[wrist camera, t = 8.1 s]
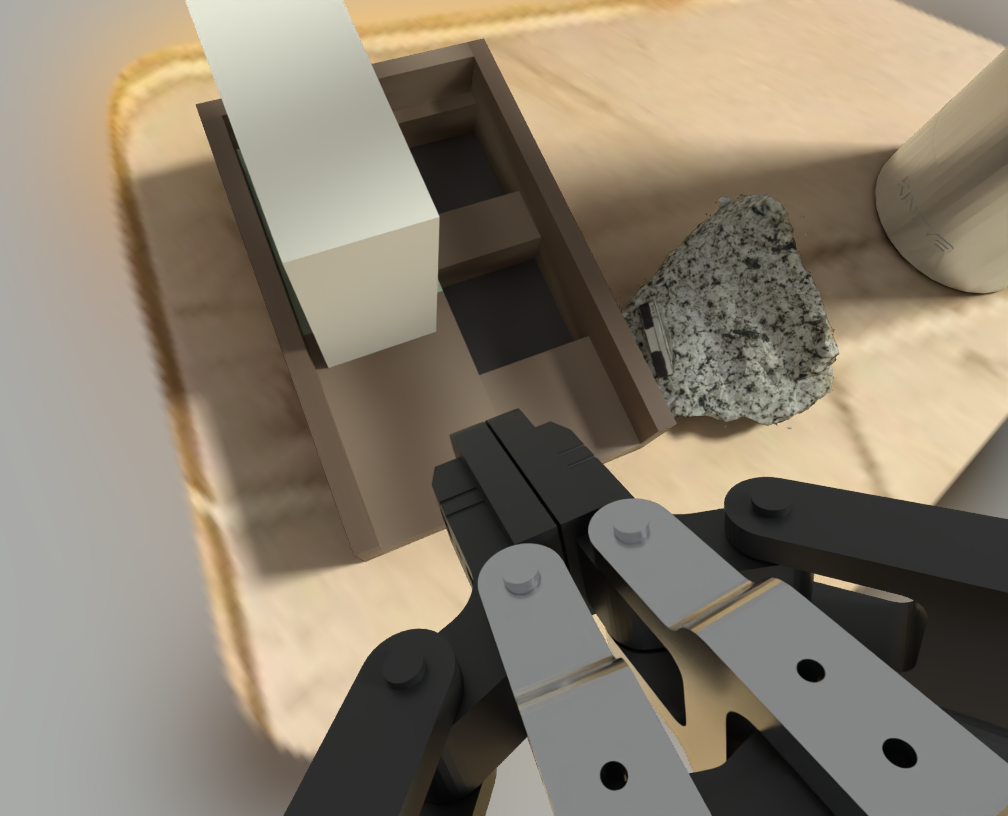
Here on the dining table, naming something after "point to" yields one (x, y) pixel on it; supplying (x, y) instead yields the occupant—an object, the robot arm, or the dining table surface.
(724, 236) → the rock sample
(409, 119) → the box
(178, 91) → the dining table surface
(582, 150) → the dining table surface
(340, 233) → the brick
